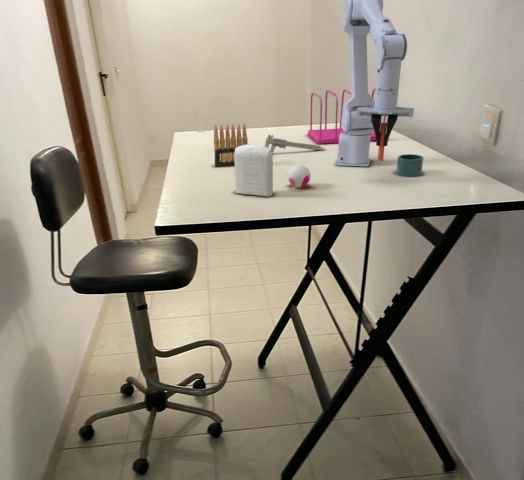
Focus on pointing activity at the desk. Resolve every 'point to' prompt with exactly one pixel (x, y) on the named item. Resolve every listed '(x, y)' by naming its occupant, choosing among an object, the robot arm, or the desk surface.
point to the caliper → (288, 144)
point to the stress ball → (299, 176)
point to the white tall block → (254, 170)
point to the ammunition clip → (228, 145)
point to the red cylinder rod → (382, 141)
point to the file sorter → (333, 134)
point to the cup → (409, 165)
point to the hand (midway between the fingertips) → (381, 145)
